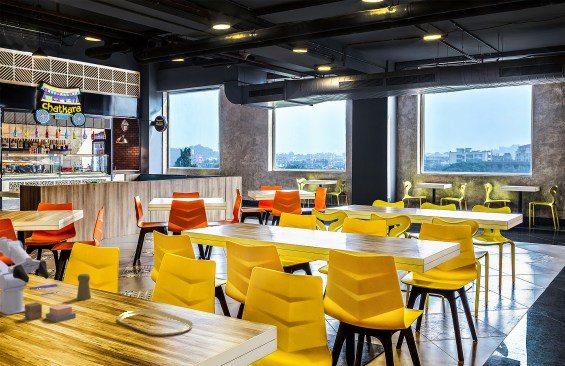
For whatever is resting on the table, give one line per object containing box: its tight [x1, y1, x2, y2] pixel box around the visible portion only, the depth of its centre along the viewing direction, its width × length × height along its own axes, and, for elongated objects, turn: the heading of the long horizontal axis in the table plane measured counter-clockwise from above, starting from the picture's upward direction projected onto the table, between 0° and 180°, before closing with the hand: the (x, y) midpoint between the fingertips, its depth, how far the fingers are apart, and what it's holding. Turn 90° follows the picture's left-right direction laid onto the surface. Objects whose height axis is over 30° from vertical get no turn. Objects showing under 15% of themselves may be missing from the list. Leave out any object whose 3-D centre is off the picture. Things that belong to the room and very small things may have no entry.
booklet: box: [29, 283, 59, 296], centre depth 254 cm, size 12×25×1 cm, turn 41°
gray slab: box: [45, 311, 77, 323], centre depth 210 cm, size 8×8×2 cm
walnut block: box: [24, 301, 43, 322], centre depth 210 cm, size 4×4×6 cm
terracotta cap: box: [48, 303, 73, 316], centre depth 210 cm, size 6×6×2 cm
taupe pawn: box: [76, 273, 92, 301], centre depth 241 cm, size 6×6×11 cm
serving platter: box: [117, 309, 194, 337], centre depth 204 cm, size 19×35×2 cm, turn 48°
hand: (37, 278), depth 206 cm, fingers open, 7 cm apart
